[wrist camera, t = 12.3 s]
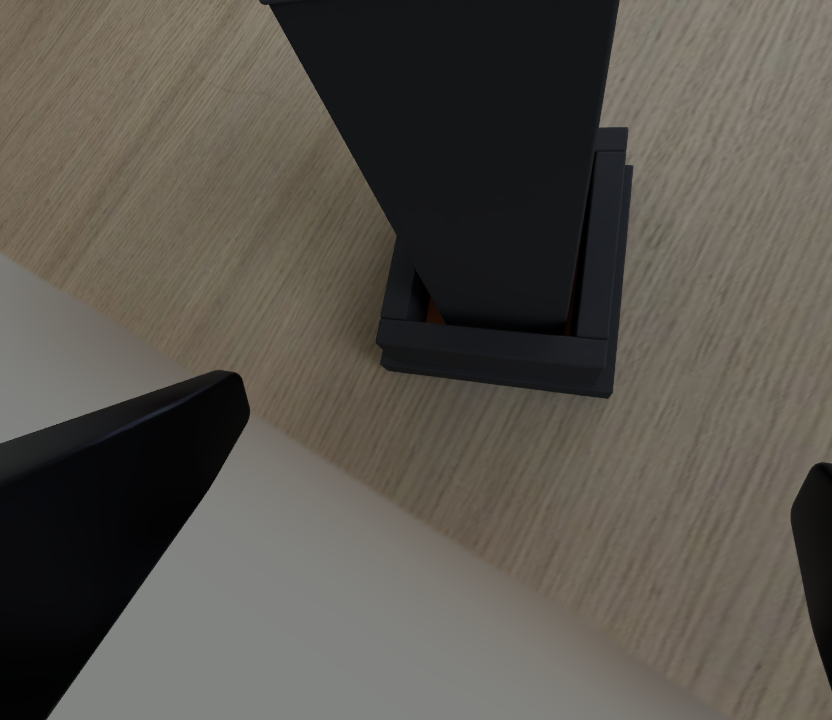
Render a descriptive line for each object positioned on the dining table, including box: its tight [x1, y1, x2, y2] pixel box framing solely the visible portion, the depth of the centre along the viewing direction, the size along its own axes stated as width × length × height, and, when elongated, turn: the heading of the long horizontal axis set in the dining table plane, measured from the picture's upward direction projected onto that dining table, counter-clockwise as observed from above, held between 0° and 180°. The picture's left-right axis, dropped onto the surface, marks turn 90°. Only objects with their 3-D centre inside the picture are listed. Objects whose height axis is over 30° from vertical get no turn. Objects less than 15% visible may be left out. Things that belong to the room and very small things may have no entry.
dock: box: [376, 127, 633, 399], centre depth 17 cm, size 8×8×3 cm
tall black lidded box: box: [259, 0, 620, 336], centre depth 11 cm, size 5×4×14 cm
